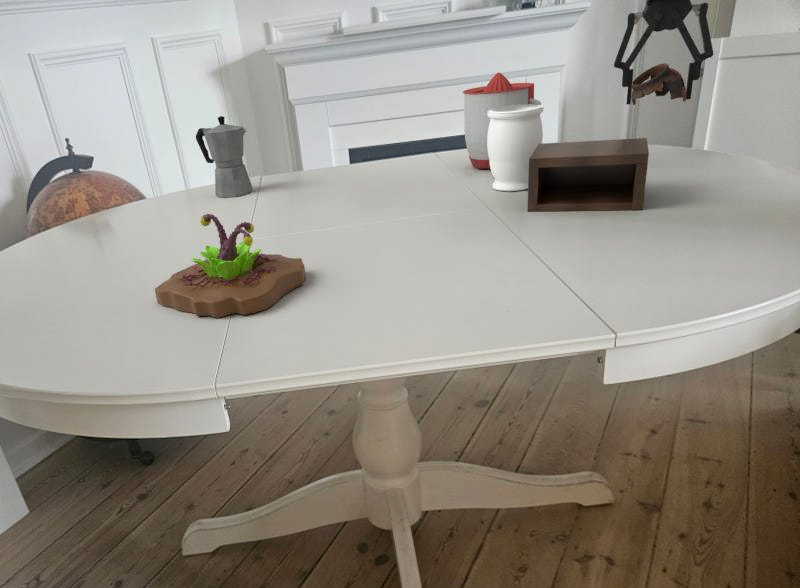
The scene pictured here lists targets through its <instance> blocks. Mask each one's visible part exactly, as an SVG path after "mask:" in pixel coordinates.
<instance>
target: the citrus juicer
mask: <svg viewBox="0 0 800 588" xmlns="http://www.w3.org/2000/svg"><path fill="white" fill-rule="evenodd" d="M462 93H463V110H464V111H463V112H464V113H463V114H464V115H463V116H464V120H463V121H464V140H465V145H466V146H465V147H466V150H467V153H468V158H469V161H470V163H471V165H472V167H474V168H476V169H477V170H485V169H490V162H489V156H488V149H487V135H488V128H489V123H490V118H489V117H488V115H487V113H488V112H487V111H489V110H492V109H495V108H500V107H505V106H513V105H527V104H534V105H542V106H543V104H542V102H541V101H540V100H538V99H535V82H534V83H533V82H512V83H511V82H510V81H509V80H508V78H507V77H506V76H505V75H504V74H502V72H497V73H495V74H494V76H492V78H491V79H490V80H489V82H488V83H487V84H486V85H484V86H477V87H471V88H468V89H465V90H463V91H462Z"/></svg>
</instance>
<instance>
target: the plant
mask: <svg viewBox="0 0 800 588" xmlns="http://www.w3.org/2000/svg"><path fill="white" fill-rule="evenodd" d="M211 222H213V223H214V225H215V227H216V230H217V232H218V238H219V244H220V246H219V248H218V247H217V246H213V245H212V246H211V245H205V246H204V251H199V255H201V256H202V257H204V258H205V259H204V260H202V259H200V258H190V260H191V261H192V262H194V264H192V265H189V266H188V267H186V268H184V269H182V270H179V271H177V272H175V273H173V274H171V276H170V278H168V279H166V280H164V281H163V282H162V283H160V284H159V285H158V286H157V287H155V288H154V293H155V297H156V302H157V304H160V305H161V306H162V307H167V308H173V309H175V310H177V311H180V312H185V313H192V314H195V315H196V317H205V316H206V317H212V318H214V319H219V318H223V317H226V316H231V315H234V314H239V315H242V316H247V315H251V314H255V313H259V312H262V311H264V310H267V309H269V308H271V307H273V306H274V305H275V304H276V303H277V302H278V301H279V300H280V299H281V298H282V297H283V296H284V295H286V294H288V293H290V292H291V291H292V290H294V289H297V288H299V287H301V286H302V285H303V284H304V283H305V280H306V277H307V275H306V268H305V264H304V263H303V258H301V257H298V258H297V257H295V258H294V257H287V256H284V255H282V254H265V253H262V248H257V249H256V250H254V251H253V252H250V251H251V250H250V249H251V247H252V246H253V245H252V244H253V242H254V239H253V237H252V235H251V233H253V232H254V230H255V226H254V224H252V223H250V222H246V221H244V222H241V223H239V224H237V225H236V227H235V228H234V230H233V231H231V233H230V234H229V236H228V235H227V233H226V230H225V228H224V226H223V224H222V223H221V222H220V220H219V219H218V217H217V216H216V215H214V214H212V213H206V214H203V215H202V216H201V217H200V225H201V226H203V227H207V226H209V225H210V224H211ZM243 228H244V229H243ZM240 234H243V241H241V242H239V244H238V245H237V238H238V235H240Z"/></svg>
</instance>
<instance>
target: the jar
mask: <svg viewBox="0 0 800 588" xmlns="http://www.w3.org/2000/svg"><path fill="white" fill-rule="evenodd" d="M487 112H488V113H487V115H488V117H489V118H490V123H489V128H488V135H487V149H488V156H489V162H490V168H489V169H490V172H491V174H492V177H493V179H494V182H493V183H492V185H491V187H492V189H493V190H495V191H498V192H499V191H500V192H518V191H524V190H528V178H529V158H530V157H531V155H532V154H533V152H534V150H535V149H536V147H537V146H538V144H543V139H544V133H543V131H544V130H543V121H542V118H541V114H542V113H543V112H544V105H543V104H542V105H534V104H527V105H513V106H505V107H500V108H495V109H492V110H489V111H487Z"/></svg>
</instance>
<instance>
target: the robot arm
mask: <svg viewBox="0 0 800 588" xmlns="http://www.w3.org/2000/svg"><path fill="white" fill-rule="evenodd" d="M708 9H709V4H708V2H702V3H695V4H693V3H692V2H691V0H645V7H644V9H643V10H642V11H638V12H630V13H628V14H627V26H626V29H625V32H624V35H623V38H622V40H621V43H620V46H619V49H618V52H617V55H616V57H615V60H614V63H613V67H614V69H615V68H616V69H620V70H622V77H621V78H622V79H621V86H622V88H627V94H626V105H631V103H632V99H631V97H632V91H633V89H632V87H631V86H632V85H633V81H634V78H633V77H634V68H631V66H632V65H633V63H634V62H635V60H636V59H637V57H638V55H639V54H640V52H641V51H642V49H643V47H644V46H645V44H646V43H647V41H648V39H649V38H650V37H651V35H652V34H653V32H655V33H658V32H663V31H665V30H666V31H673V30H676V29H677V31H678V32H679V34H680V37H681V38H682V40H683V42H684V44H685V46H686V48H687V50H688V52H689V54H690V55H691V57H692V59H693V62H689V63H688V64H689V65H688V70H687V71H688V72H687V79H686V87H685V88H686V98H687V99H686V100H691V98H692V91H693V90H692V89H693V84H694V82H693V81H698V80H699V79H700V78H701V77H700V76H701V70H702V64H703V61H705V60H708V59H710V58H712V57H713V56H714V49H713V43H712V38H711V33H710V29H709V22H708V17H707V16H708V15H707V14H708ZM691 11H692V12H693V14H694V16H695V17H697V21H698V22H697V23H698V26H699V31H700V37H701V42H702V47H703V51H704V52H702V53H701V52H700V50H699V49H698V47H697V45H696V43H695V41H694V39H693V37H692V36H691V34H690V32H689V30H688V28H687V26H686V24H685V22H684V20H685V19H686V18H687V16H688V15H689V14H690V13H691ZM641 18H643V20H644V21H645V23H646V24H647V27H646V29H645V30H644V32H643V34H642V35H641V37H640V38H639V40H638V41H637V43H636V45H635V46H634V48H633V49H632V51H631V53H630V54H629V56H628V57H627V59H626V61H623V58H624V55H625V53H626V50H627V48H628V45H629V42H630V39H631V36H632V34H633V30H634V27H635V26H636V25H638V24H639V21H640V19H641Z"/></svg>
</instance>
